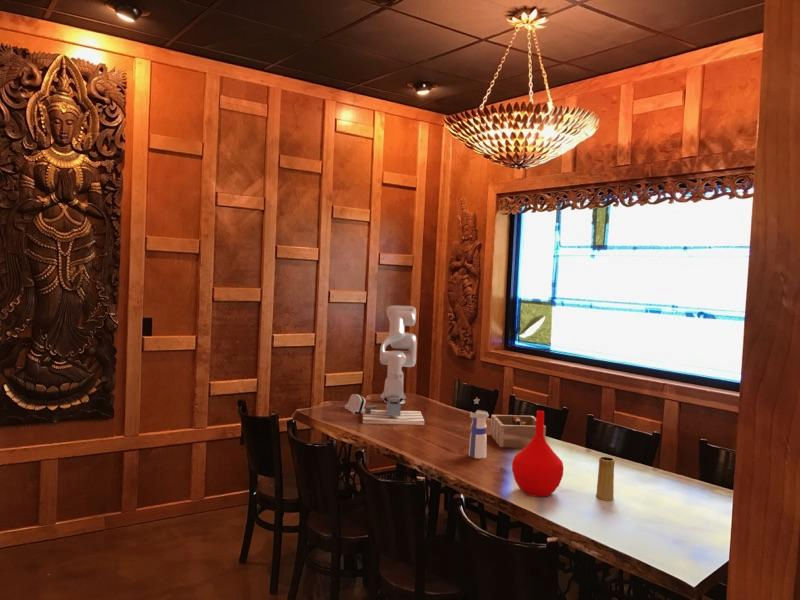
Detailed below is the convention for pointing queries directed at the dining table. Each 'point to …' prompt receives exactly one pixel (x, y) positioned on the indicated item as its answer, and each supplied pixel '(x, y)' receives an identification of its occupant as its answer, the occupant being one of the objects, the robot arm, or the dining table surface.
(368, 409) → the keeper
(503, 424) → the box
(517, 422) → the bear figurine
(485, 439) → the water bottle
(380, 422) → the board
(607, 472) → the vase
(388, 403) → the link
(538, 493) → the vase
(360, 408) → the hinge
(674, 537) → the dining table surface
